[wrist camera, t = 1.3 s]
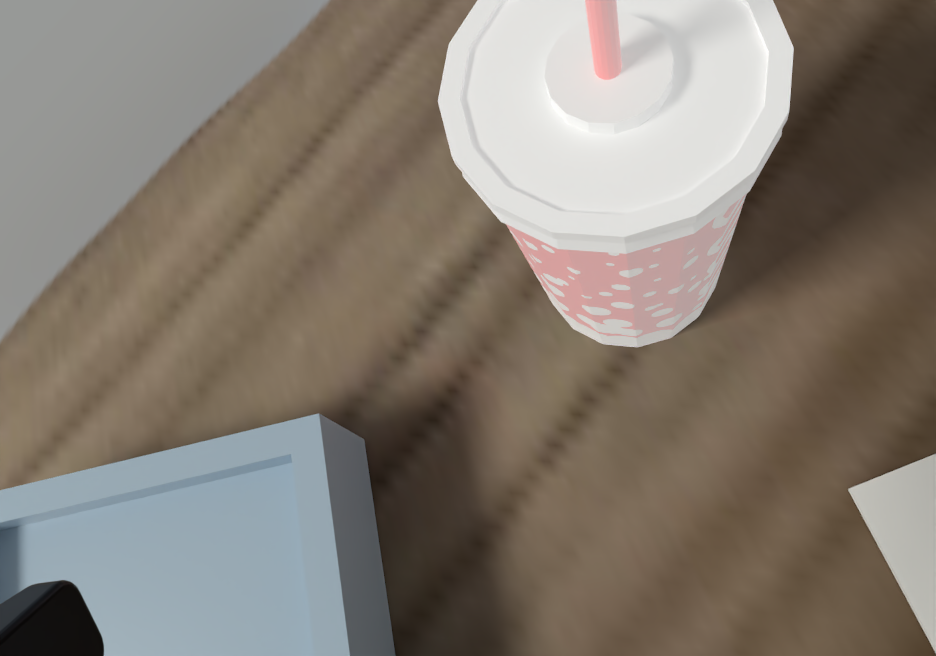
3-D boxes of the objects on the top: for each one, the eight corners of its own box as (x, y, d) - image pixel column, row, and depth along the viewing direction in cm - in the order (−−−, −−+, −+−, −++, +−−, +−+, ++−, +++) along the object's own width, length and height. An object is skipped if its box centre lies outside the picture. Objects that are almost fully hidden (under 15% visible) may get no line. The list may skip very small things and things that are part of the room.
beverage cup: (644, 423, 22) (612, 155, 9) (472, 282, 24) (248, -96, 11) (798, 247, 23) (974, -243, 10) (615, 124, 25) (559, -409, 12)
